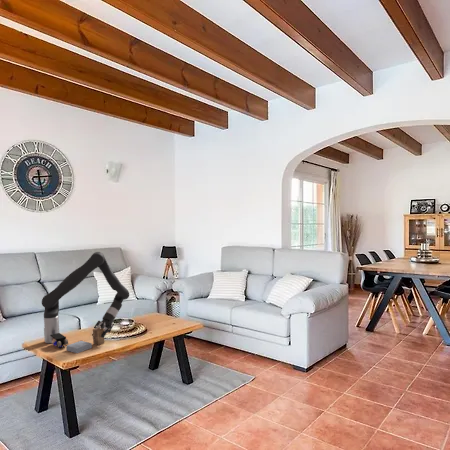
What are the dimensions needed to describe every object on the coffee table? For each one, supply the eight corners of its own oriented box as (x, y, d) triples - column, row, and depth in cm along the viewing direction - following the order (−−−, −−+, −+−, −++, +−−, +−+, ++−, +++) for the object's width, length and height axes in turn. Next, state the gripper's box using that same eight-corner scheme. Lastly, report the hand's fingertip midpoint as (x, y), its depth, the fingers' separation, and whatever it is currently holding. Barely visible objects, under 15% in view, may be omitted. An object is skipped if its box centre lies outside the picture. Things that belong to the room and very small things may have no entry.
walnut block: (93, 344, 255) (92, 329, 254) (99, 342, 259) (98, 327, 259) (98, 345, 252) (97, 330, 252) (104, 343, 256) (103, 328, 256)
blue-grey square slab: (66, 350, 245) (66, 345, 245) (81, 345, 254) (81, 340, 254) (77, 353, 239) (76, 348, 239) (91, 347, 248) (91, 343, 248)
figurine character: (69, 349, 251) (59, 342, 261) (69, 338, 250) (59, 331, 260) (58, 352, 246) (49, 344, 256) (58, 341, 245) (49, 333, 255)
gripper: (100, 310, 266) (87, 331, 256) (114, 313, 258) (101, 334, 249) (107, 316, 270) (94, 337, 261) (120, 319, 262) (108, 340, 253)
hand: (97, 336), depth 255 cm, fingers open, 8 cm apart
